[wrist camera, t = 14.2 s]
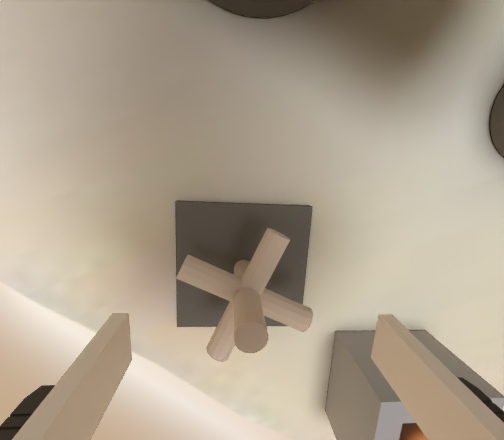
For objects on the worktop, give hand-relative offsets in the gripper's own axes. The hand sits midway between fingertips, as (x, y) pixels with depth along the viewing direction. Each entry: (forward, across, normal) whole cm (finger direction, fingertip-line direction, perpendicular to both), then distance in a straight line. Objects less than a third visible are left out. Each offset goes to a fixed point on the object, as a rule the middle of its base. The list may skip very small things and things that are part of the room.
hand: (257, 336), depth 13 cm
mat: (+10, 0, -1) cm, 11 cm away
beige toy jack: (+10, 0, -1) cm, 10 cm away
